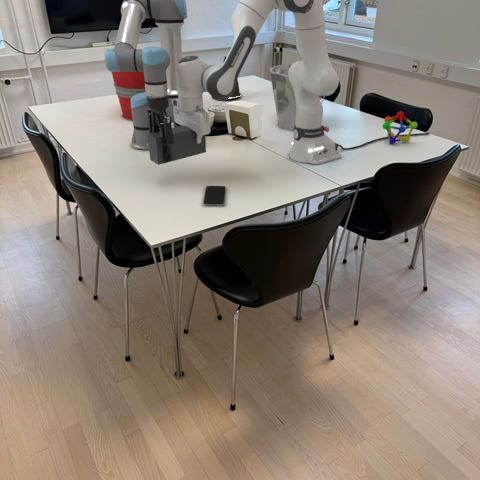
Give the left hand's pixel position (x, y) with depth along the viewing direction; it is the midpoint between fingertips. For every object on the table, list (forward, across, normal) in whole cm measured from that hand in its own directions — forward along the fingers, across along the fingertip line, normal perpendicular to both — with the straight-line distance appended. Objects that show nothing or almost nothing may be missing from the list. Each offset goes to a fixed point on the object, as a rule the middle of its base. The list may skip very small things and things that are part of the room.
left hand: (163, 158), depth 165 cm
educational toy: (+10, -27, -110) cm, 114 cm away
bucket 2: (+10, +22, -91) cm, 95 cm away
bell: (+11, +90, -97) cm, 133 cm away
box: (+1, 0, -7) cm, 7 cm away
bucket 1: (+10, +87, -38) cm, 96 cm away
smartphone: (+10, -21, -9) cm, 25 cm away
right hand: (-4, 0, -14) cm, 14 cm away
